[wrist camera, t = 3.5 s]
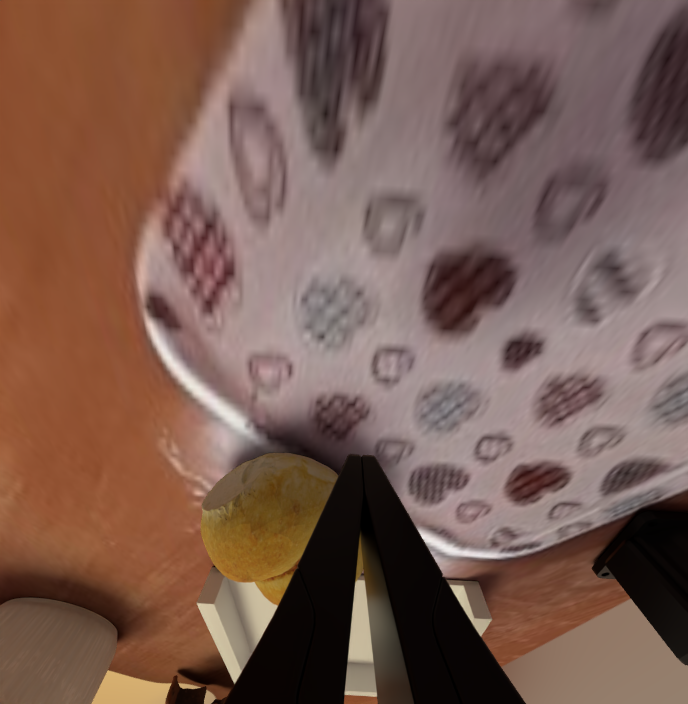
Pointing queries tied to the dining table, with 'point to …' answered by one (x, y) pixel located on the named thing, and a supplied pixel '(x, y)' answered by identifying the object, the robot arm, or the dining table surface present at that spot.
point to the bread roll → (266, 519)
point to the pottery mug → (187, 695)
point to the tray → (256, 611)
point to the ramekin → (52, 652)
